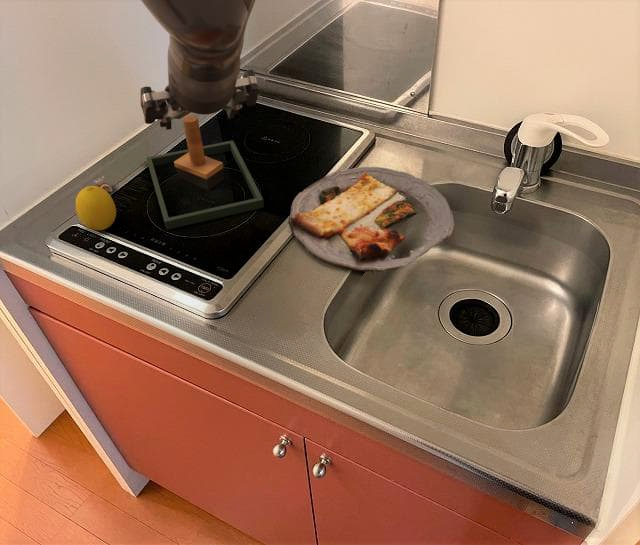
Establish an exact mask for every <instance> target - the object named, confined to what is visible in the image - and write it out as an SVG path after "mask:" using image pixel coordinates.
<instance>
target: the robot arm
mask: <svg viewBox="0 0 640 545" xmlns="http://www.w3.org/2000/svg"><path fill="white" fill-rule="evenodd" d="M140 1H141V3H142V4H143V6H145V8H146V9H147V10H148V12H149V13H150V14H151V16H152V17H153V18H154V19H155V21H156V22H157V23H158V24H159V25H160V26H161V27H162V28H163V29H164V30H165V31H166V32H167V33H168V34H169V36H168V37H169V43H168V44H169V45H168V48H167V80H168V85H167V86H165V88H164V90H161V91H156V90H154V89H152V87H151V86H143V87H141V88H140V107H141V110H142V113H143V117H144V123H145V124H147V125H152V124H154V123H155V122H156V120H158V123H159V127H161V128H165V131H169V130H172V120H173V119H174V120H181V119H183V117H185V116H187V115H190V114H195V115H212V114H216V113H218V112H220V111H221V110H222V111H225V112H226V114H227V119H235V115H237V114H239V112H240V110H241V109H243V106H244V105H246V106H247V107H254V106H255V105H256V104H257V101H258V96H259V92H260V88H259V85H258V81H257V77H256V74H255V70H254V69H247V70H245V72H244V73H243V75H241V76H240V78H239V75H240V72H241V55H242V50H243V47H244V41H245V33H246V28H247V24H248V21H249V19H250V15H251V13H252V11H253V8H254V5H255V3H256V0H140Z"/></svg>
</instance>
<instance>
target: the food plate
mask: <svg viewBox="0 0 640 545" xmlns="http://www.w3.org/2000/svg"><path fill="white" fill-rule="evenodd" d="M397 193H398V195H400V196H402V197H404V198H403V199H401V200H396V201H394V202H392V203H391V204H390V205H388V206H386V207H385V208H384V209H383V210H382V211H381V212H380V213H379V214H378V215H377V216H376V217H375V218H374V220H373V223H375V225H377V227H379V228H380V229H376V228H370V226H363V224H362V223H360V224H359V227H358V226H355V227H354V230H350V229H347V228H348V227H350V226H351V225H353V224H354V223H355V222H357V221H359V220H361V219H362V218H365V217H366V216H367V215H368V214H370V213H371V212H372V211H374V210H376V209H377V207H379V206H381V205H383V204H384V203H387V202H388V201H389V200H391V199H392V197H393V196H394V195H395V194H397ZM408 200H410V201H411V202H413V203H415V204H416V205H417V206H418V208H420V209H421V211H422V212H423V214H424V217H425V220H426V229H425V232H424V238H425V239H427V241H428V242H427V244H424V246H423V249H422V250H421V251H414V250H409V256H406V257H402V258H396V256H395V255H393V254H392V255H390V253H391V252H392V251H393V250H394V249H395V248H397V246H398V245H400V244H403V241H404V240H405V236H404V235H403V234H401V233H399V231H398V230H397V229H392V230H389V231H388V229H387V227H388V226H390V225H393V224H395V223H397V222H401V221H403V220H405V219H407V218H409V217H413V216H414V215H417V212H416V210H414V206H413V205H411V203H410V202H409V201H408ZM289 211H290V212H289V217H288V221H287V223H288V225H289V228H290V229H291V235H292V236H293V237H294V238H295V239H296V240H297V242H298V243H299V244H300V245H301V246H302V247H304V249H305V250H306V251H307V252H309V254H311V255H312V256H313V257H314V258H316V259H317V260H320V261H321V262H323V263H326V264H330V265H333V266H336V267H337V266H338V267H342V268H346V269H350V270H352V271H355V272H364V273H366V272H367V273H368V272H371V274H374V272H378V273H381V272H384V271H386V270H387V269H391V270H392V271H396V270H398V269H401V268H403V267H405V266H407V265H410V264H411V263H412V262H414V261H415V260H416V259H418V258H420V257H422V256H424V254H427V253H428V252H429V251H430V250H431V249H433V248H434V247H436V246H438V245H439V243H441V242H442V241H443V240H444V239H446V238H449V237H451V236H452V233H453V231H454V228H455V220H454V215H453V212H452V210H451V208H450V205H449V203H448V200H447V198H446V197H444V195H443V194H442V193H441V192H439V190H438V189H437V187H436V186H435V187H434V186H433V185H432V184H431V183H429V182H427V181H425V180H423V179H421V178H419V177H416V176H415V175H413V174H411V173H410V172H406V171H402V170H401V171H400V170H397V169H396V170H395V169H391V168H389V167H381V166H360V167H354V168H348V169H343V170H341V169H339V170H336V171H334V172H332V173H330V174H328V175H326V176H324V177H322V178H320V179H319V180H316V182H313V183H312V184H310V185H309V186H307V187H306V188H304V189H303V190H301V191H300V192H299V193H298V194H297V195H296V196H295V197H294V199H293V200H292V203H291V205H290V210H289ZM336 235H337V236H340V239H341V240H342V241H343V242H344V243H345V244H346V246H347V247H348V249H349V252H350V253H351V254H350V253H343V252H342V251H341V250H339V248H333V247H332V246H331V244H330V242H329V239H330V238H332V237H335V236H336ZM420 242H421V240H420V241H418V242H417V243H418V244H420ZM412 248H413V247H411V249H412ZM395 258H396V259H395ZM374 270H375V271H374Z"/></svg>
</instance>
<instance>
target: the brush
mask: <svg viewBox="0 0 640 545" xmlns="http://www.w3.org/2000/svg"><path fill="white" fill-rule="evenodd" d="M181 119H182V124H183V129H184V135H185V140H186V145H187V149H188V151H189V152H188V153H187V154H185V155H183V156H182V157H180V158H179V159H177V160H176V161H174V162H173V164H174V167H175V169H176V174H177V179H180V180H182V181H184V182H186V183H189V184H192V185H194V186H196V187H199V188H201V189H203V190H206V191H211V190H212V189H213V188H214V187H216V186H218V185H219V184H220V183H221V182H223V181H224V180H225V174H224V162H222V161H220V160H217V159H214V158H211V157H209V156H204V150H203V146H204V144H203V139H202V133H201V129H200V123H199V122H200V121H199V118H198V116H197V115H196V114H195V115H194V114H188V115H186V116H184V117H183V118H181Z"/></svg>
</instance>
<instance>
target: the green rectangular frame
mask: <svg viewBox="0 0 640 545" xmlns="http://www.w3.org/2000/svg"><path fill="white" fill-rule="evenodd" d="M203 150H204V156H206V157H208V156H212V155H217V154H221V153H222V154H223V153H227V152H231V155H232V156H233V159H234V160H235V163H236V164H237V166H238V169H239V170H240V173H241V174H242V176H243V178H244V181H245V182H246V185H247V186H248V188H249V190H250V193H251V195H252V196H253V198H251V199H246V200H242V201H238V202H233V203H228V204H224V205H219V206H215V207H211V208H205V209H202V210H196V211H193V212H189V213H184V214H179V215H175V216H169V213H168V210H167V206H166V203H165V200H164V196H163V192H162V190H161V186H160V183H159V179H158V176H157V173H156V169H155V167H158V166H163V165H167V164H174V161H176V160H177V159H179V158H180V157H182V156H183V155H185V154H187V153H188V152H189V151H188V148H187V149H183V150H177V151H172V152H167V153H163V154H157V155H152V156H147V157H146V162H147V166H148V169H149V174H150V176H151V180H152V183H153V187H154V191H155V195H156V198H157V201H158V205H159V208H160V212H161V214H162V219H163V222H164V227H165V230H171V229H177V228H180V227H185V226H189V225H193V224H198V223H203V222H206V221H212V220H216V219H220V218H224V217H227V216H232V215H238V214H242V213H247V212H250V211H255V210H259V209H263V208H265V203H264V202H265V200H264V198H263V196H262V194H261V192H260V190H259V189H258V186H257V185H256V183H255V181H254V178H253V177H252V175H251V173H250V170H249V168H248V167H247V165H246V163H245V161H244V159H243V157H242V156H241V153H240V151H239V149H238V147H237V145H236V143H235V141H234V140H227V141H223V142H218V143H213V144H207V145H203Z"/></svg>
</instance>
